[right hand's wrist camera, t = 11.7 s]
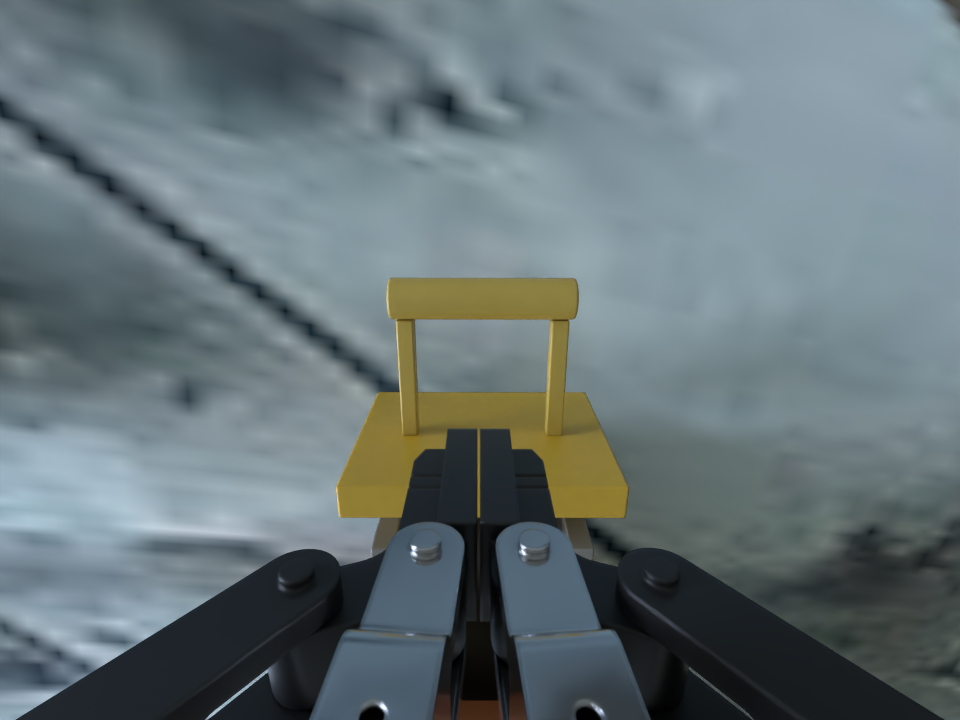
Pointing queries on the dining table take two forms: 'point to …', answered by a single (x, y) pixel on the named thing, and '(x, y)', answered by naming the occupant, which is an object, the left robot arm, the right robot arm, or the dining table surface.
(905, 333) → the dining table surface
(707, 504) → the dining table surface
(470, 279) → the drawer
